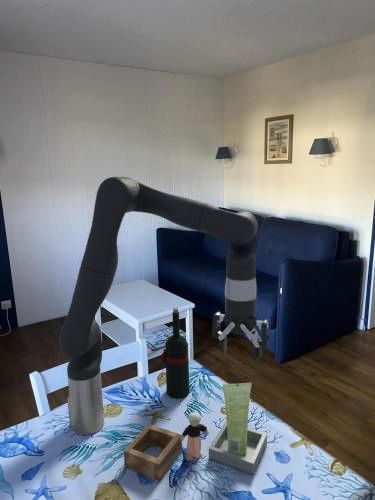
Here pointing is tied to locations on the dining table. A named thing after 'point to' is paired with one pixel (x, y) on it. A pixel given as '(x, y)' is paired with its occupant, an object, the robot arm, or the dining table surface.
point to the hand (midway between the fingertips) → (239, 356)
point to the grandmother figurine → (194, 436)
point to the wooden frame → (149, 464)
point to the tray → (240, 463)
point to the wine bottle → (176, 362)
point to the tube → (237, 416)
